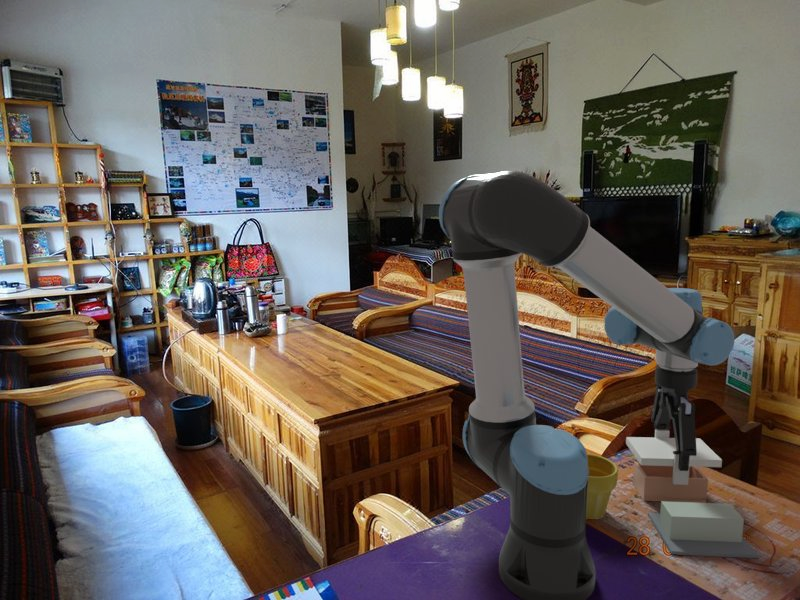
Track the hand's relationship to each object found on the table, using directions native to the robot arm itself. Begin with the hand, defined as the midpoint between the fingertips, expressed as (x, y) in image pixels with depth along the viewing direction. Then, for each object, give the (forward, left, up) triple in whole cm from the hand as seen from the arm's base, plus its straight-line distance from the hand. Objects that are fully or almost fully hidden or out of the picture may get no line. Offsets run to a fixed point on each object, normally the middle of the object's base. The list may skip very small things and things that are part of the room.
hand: (669, 470), depth 113 cm
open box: (0, 0, -5) cm, 5 cm away
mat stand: (0, -15, -5) cm, 16 cm away
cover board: (0, 0, +3) cm, 3 cm away
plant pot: (-18, -8, -5) cm, 20 cm away
